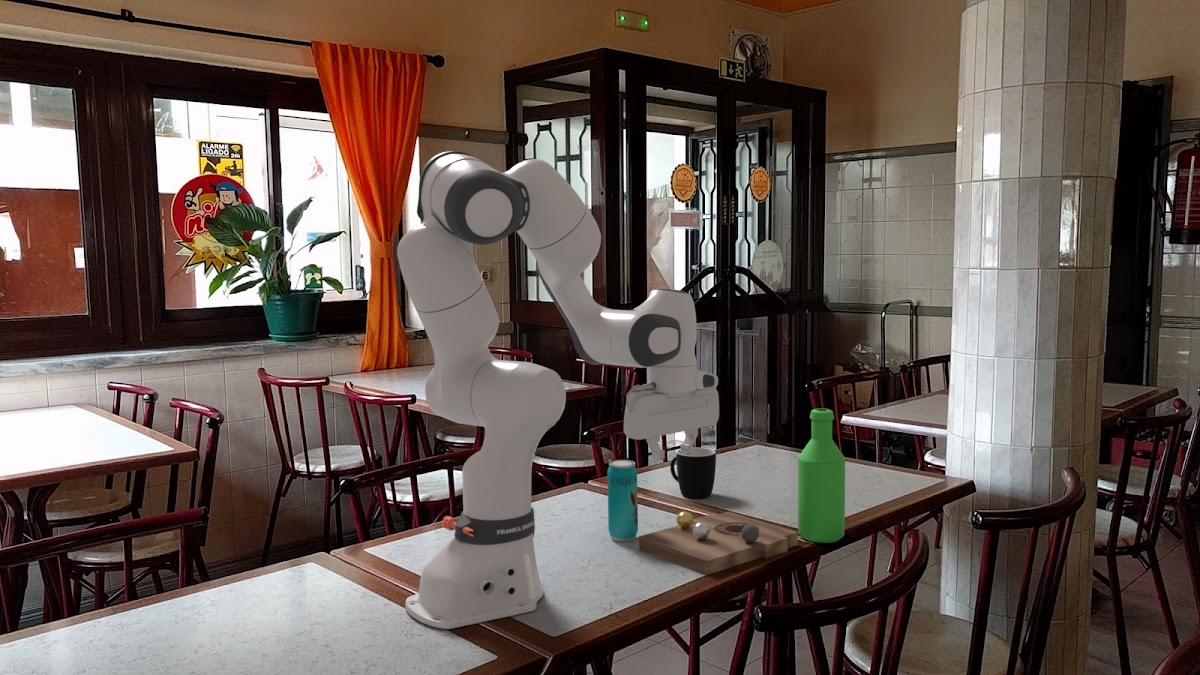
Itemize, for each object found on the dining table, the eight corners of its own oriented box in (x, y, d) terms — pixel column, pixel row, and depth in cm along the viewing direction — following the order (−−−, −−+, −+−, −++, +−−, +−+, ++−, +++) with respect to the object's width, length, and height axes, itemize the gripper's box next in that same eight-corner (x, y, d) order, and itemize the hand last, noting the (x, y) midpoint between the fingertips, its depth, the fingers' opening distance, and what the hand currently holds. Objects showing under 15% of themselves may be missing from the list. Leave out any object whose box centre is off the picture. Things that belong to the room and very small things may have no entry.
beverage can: (635, 543, 176) (634, 466, 174) (606, 542, 177) (604, 466, 175) (640, 534, 181) (639, 459, 180) (611, 533, 182) (610, 459, 181)
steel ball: (701, 543, 167) (701, 526, 167) (689, 539, 170) (689, 522, 170) (713, 539, 169) (713, 522, 169) (701, 535, 172) (701, 518, 172)
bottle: (852, 536, 178) (854, 409, 175) (830, 547, 171) (831, 415, 169) (812, 527, 184) (813, 404, 181) (789, 538, 177) (789, 410, 175)
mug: (724, 495, 208) (724, 451, 207) (698, 503, 202) (698, 458, 201) (684, 485, 217) (683, 443, 216) (658, 493, 211) (658, 450, 210)
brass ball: (684, 531, 174) (684, 515, 174) (673, 527, 177) (673, 511, 177) (696, 528, 176) (696, 511, 176) (685, 524, 179) (685, 508, 179)
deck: (711, 576, 157) (711, 562, 157) (635, 548, 173) (635, 535, 173) (801, 546, 172) (801, 533, 172) (724, 522, 188) (724, 510, 188)
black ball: (750, 546, 165) (750, 528, 165) (737, 541, 168) (737, 524, 168) (762, 542, 167) (762, 525, 167) (749, 538, 170) (749, 521, 170)
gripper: (639, 388, 153) (640, 469, 155) (724, 376, 166) (725, 451, 167) (615, 384, 158) (616, 463, 160) (700, 372, 171) (700, 445, 172)
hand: (672, 456), depth 164 cm, fingers open, 5 cm apart
